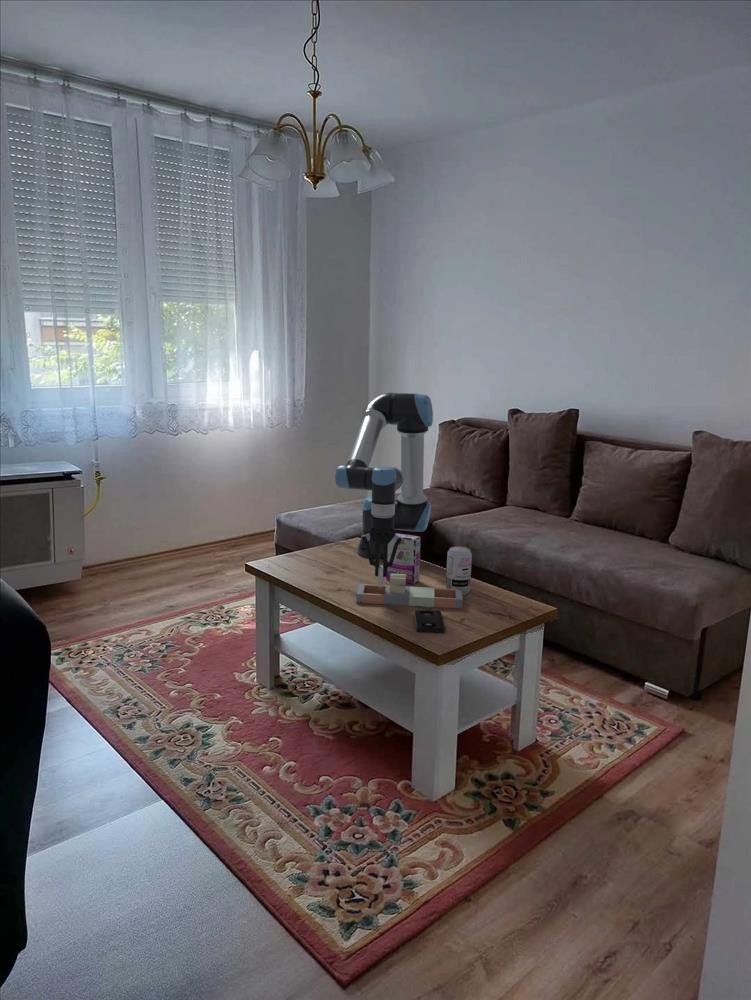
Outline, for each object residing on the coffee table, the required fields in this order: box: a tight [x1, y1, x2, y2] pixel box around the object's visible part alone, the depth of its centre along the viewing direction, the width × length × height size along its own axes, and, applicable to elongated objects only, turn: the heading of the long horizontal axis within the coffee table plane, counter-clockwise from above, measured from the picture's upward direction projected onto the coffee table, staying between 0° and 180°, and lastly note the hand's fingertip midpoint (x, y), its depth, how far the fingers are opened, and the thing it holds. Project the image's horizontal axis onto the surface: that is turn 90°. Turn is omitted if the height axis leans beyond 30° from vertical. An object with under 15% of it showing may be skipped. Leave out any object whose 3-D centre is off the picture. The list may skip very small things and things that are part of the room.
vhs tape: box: [414, 609, 445, 634], centre depth 216 cm, size 14×8×2 cm, turn 0°
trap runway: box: [355, 583, 464, 610], centre depth 235 cm, size 10×34×3 cm, turn 85°
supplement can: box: [445, 545, 473, 596], centre depth 243 cm, size 8×8×15 cm
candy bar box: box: [385, 532, 422, 585], centre depth 253 cm, size 11×5×16 cm, turn 62°
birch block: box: [389, 573, 407, 594], centre depth 234 cm, size 5×5×5 cm
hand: (380, 585), depth 235 cm, fingers closed
